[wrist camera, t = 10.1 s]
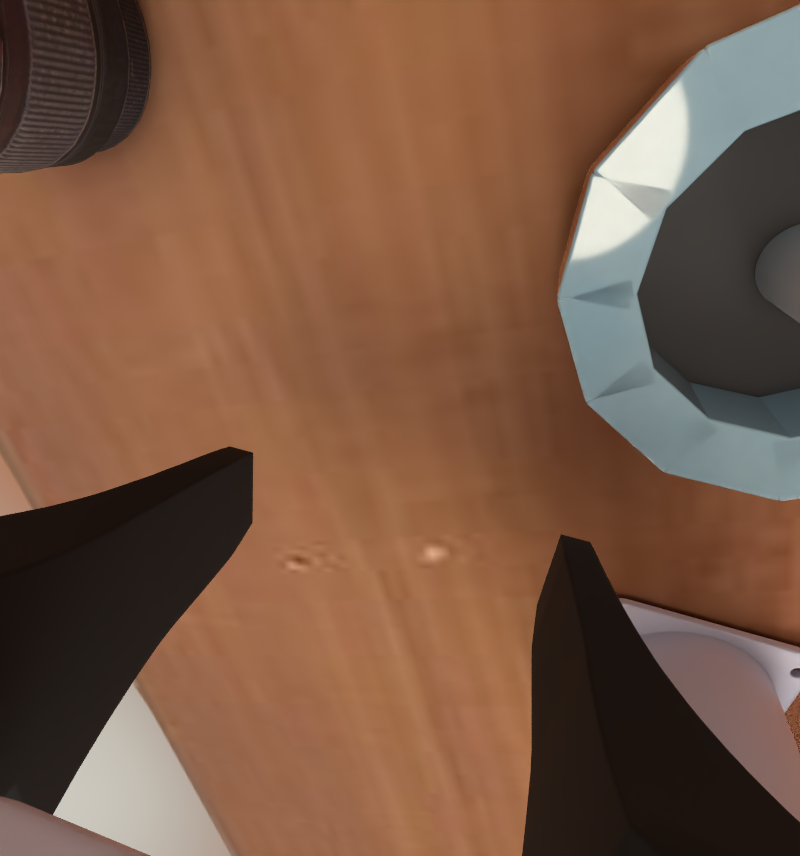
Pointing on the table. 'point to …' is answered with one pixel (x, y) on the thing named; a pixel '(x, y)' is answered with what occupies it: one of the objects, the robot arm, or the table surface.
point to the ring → (630, 252)
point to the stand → (732, 268)
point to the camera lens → (69, 79)
